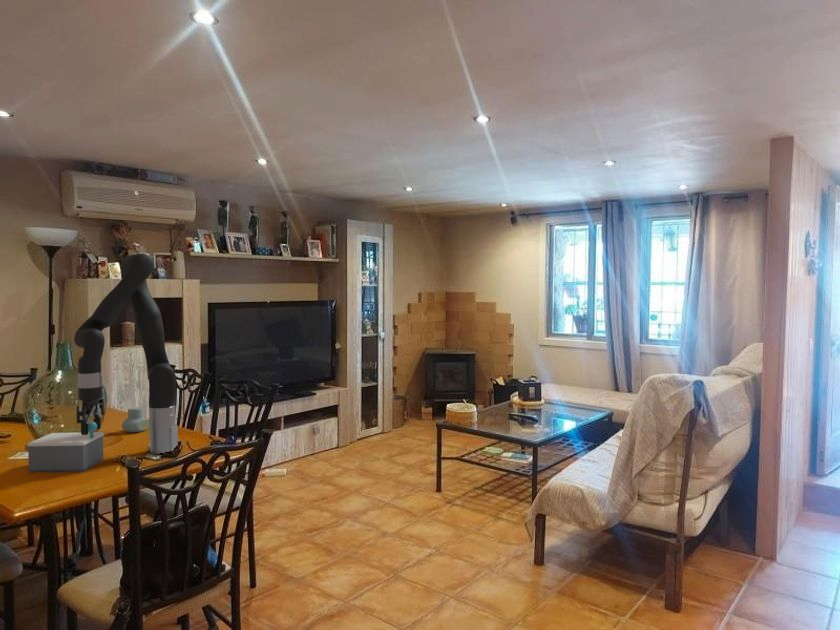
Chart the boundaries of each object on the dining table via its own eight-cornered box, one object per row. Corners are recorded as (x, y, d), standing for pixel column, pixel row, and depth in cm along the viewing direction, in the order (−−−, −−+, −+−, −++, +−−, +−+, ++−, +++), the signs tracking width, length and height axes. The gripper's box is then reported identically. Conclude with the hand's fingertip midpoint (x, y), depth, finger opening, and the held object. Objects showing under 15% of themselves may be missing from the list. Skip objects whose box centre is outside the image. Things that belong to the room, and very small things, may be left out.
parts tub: (103, 459, 216) (102, 435, 216) (83, 471, 202) (82, 445, 202) (52, 460, 215) (51, 436, 215) (28, 472, 201) (28, 446, 201)
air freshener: (136, 427, 266) (136, 405, 266) (152, 428, 264) (152, 406, 264) (118, 433, 256) (118, 410, 255) (135, 434, 254) (134, 411, 253)
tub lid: (106, 434, 216) (106, 417, 216) (86, 445, 202) (86, 426, 201) (52, 435, 215) (51, 417, 215) (27, 446, 201) (27, 427, 201)
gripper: (90, 388, 201) (91, 436, 202) (110, 382, 215) (111, 427, 216) (68, 389, 201) (69, 436, 201) (89, 382, 215) (90, 427, 216)
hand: (91, 431), depth 209 cm, fingers open, 8 cm apart
